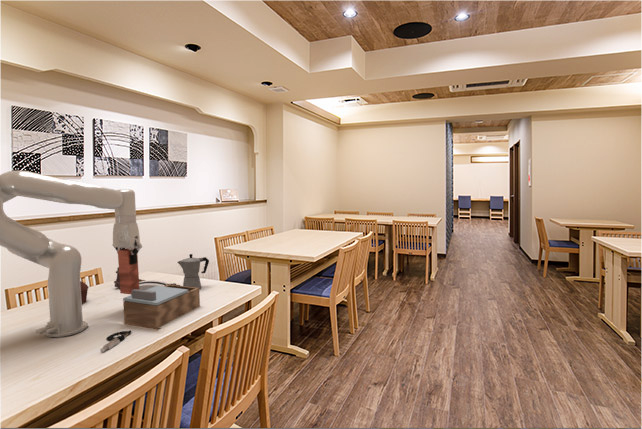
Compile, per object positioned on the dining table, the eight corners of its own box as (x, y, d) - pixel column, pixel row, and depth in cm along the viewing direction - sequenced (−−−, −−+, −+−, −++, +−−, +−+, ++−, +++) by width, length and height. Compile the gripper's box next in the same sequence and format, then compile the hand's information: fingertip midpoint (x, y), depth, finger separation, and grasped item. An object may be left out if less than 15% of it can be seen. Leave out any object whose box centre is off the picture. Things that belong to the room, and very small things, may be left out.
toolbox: (158, 330, 130) (157, 306, 130) (124, 324, 136) (123, 301, 135) (199, 308, 153) (199, 287, 152) (169, 304, 158) (169, 284, 157)
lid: (157, 305, 130) (156, 294, 129) (123, 300, 135) (122, 290, 134) (188, 291, 146) (188, 282, 145) (157, 288, 151) (156, 278, 150)
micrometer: (115, 333, 129) (114, 326, 128) (134, 334, 128) (133, 327, 128) (84, 353, 114) (84, 345, 114) (105, 353, 113) (105, 346, 113)
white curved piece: (171, 295, 171) (168, 277, 167) (169, 301, 167) (166, 283, 163) (133, 297, 168) (130, 279, 164) (130, 303, 164) (127, 285, 159)
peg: (129, 294, 145) (127, 251, 143) (120, 293, 147) (117, 250, 145) (139, 290, 150) (137, 248, 148) (130, 289, 152) (127, 248, 150)
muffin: (94, 302, 160) (92, 280, 159) (65, 309, 151) (64, 286, 150) (82, 297, 167) (80, 276, 166) (54, 304, 158) (52, 282, 157)
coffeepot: (179, 293, 174) (178, 257, 172) (176, 288, 182) (175, 253, 180) (211, 288, 182) (211, 253, 180) (207, 284, 190) (206, 250, 188)
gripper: (101, 220, 145) (104, 263, 146) (134, 221, 139) (136, 267, 141) (117, 218, 152) (120, 260, 153) (149, 219, 146) (151, 262, 148)
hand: (128, 262), depth 147 cm, fingers closed on peg, 4 cm apart
